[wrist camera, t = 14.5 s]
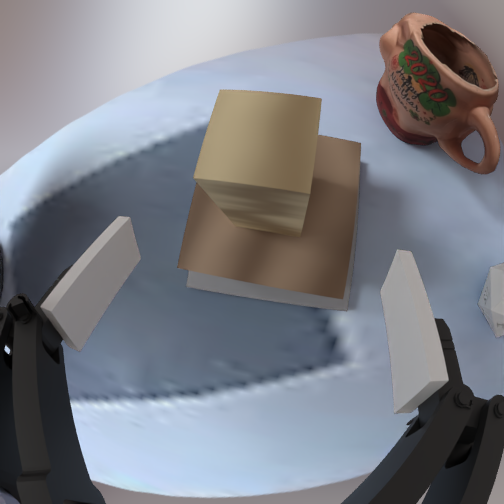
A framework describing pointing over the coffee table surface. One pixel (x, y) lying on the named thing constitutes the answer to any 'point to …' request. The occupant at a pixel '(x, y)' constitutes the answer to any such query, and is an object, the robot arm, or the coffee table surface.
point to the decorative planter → (438, 89)
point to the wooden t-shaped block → (273, 196)
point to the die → (494, 299)
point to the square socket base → (273, 293)
